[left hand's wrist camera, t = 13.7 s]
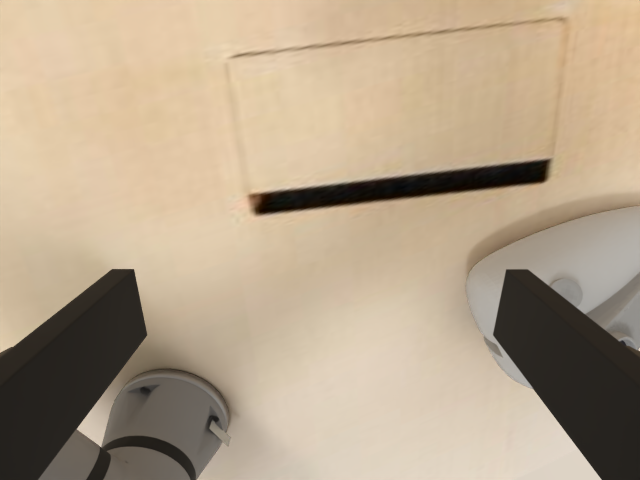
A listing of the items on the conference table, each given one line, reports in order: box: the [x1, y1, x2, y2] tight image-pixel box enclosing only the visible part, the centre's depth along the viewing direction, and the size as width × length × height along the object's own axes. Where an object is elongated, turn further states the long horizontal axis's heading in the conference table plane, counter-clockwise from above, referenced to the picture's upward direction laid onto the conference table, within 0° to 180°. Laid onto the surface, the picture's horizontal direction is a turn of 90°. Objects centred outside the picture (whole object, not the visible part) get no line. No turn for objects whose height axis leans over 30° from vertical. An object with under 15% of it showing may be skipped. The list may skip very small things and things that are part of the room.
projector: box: [466, 206, 640, 389], centre depth 35 cm, size 22×23×15 cm
